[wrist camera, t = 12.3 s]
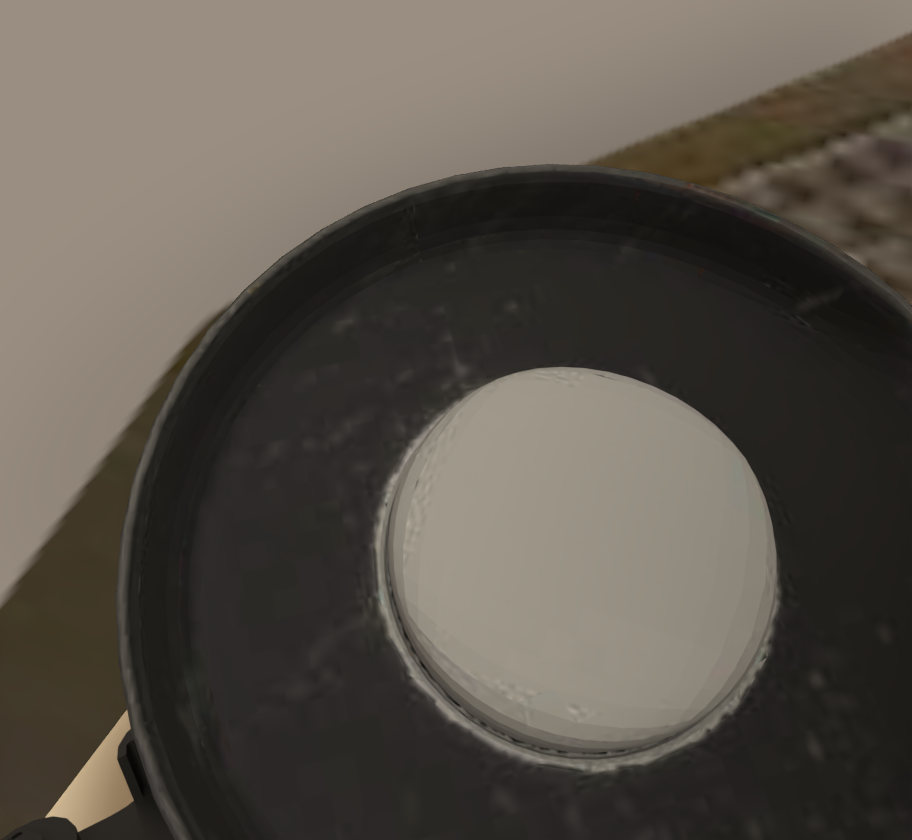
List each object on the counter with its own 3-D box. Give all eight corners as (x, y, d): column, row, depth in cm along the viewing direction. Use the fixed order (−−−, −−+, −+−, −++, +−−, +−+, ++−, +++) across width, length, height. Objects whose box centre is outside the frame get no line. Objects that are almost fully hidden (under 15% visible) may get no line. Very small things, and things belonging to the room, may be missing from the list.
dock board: (832, 621, 28) (852, 614, 27) (594, 1240, 21) (605, 1274, 19) (394, 375, 32) (392, 358, 31) (65, 817, 25) (43, 819, 23)
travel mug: (310, 738, 23) (-140, 635, 5) (449, 546, 26) (468, 43, 8) (512, 902, 22) (884, 1600, 3) (639, 677, 24) (1213, 411, 6)
